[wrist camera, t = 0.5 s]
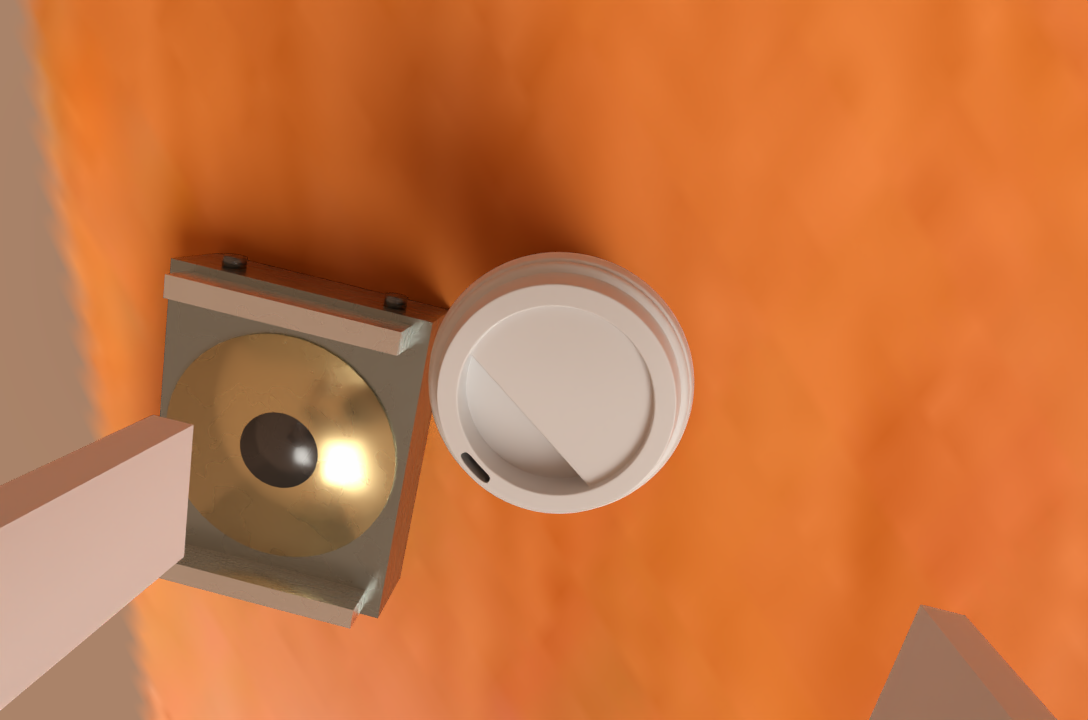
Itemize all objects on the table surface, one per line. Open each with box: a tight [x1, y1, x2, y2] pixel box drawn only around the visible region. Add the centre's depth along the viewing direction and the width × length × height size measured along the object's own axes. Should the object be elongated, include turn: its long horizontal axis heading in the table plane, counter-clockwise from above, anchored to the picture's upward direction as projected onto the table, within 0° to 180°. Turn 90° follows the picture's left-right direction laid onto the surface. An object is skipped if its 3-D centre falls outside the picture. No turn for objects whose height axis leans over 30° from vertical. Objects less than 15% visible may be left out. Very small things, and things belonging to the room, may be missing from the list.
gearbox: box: [159, 253, 449, 628], centre depth 35 cm, size 19×14×6 cm
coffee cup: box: [428, 252, 694, 514], centre depth 27 cm, size 10×10×15 cm
